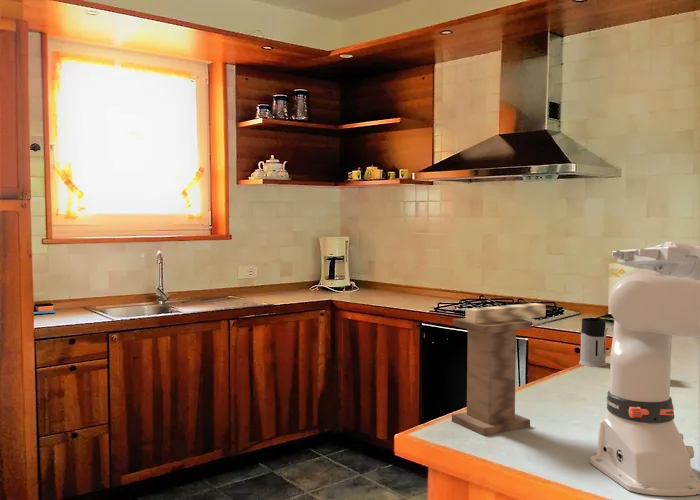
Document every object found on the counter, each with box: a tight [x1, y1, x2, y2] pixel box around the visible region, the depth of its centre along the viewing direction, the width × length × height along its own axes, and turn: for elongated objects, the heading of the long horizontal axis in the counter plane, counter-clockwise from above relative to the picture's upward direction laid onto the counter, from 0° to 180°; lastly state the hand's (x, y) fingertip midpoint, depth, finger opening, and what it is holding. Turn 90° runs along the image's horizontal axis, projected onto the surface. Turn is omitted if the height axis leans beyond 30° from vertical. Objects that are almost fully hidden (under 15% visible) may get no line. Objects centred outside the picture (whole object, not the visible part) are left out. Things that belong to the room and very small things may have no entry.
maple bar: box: [464, 302, 547, 324], centre depth 160 cm, size 22×4×3 cm, turn 118°
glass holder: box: [578, 317, 614, 368], centre depth 220 cm, size 9×14×15 cm, turn 21°
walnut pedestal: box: [451, 317, 533, 436], centre depth 159 cm, size 14×12×25 cm
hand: (625, 253), depth 165 cm, fingers open, 8 cm apart
